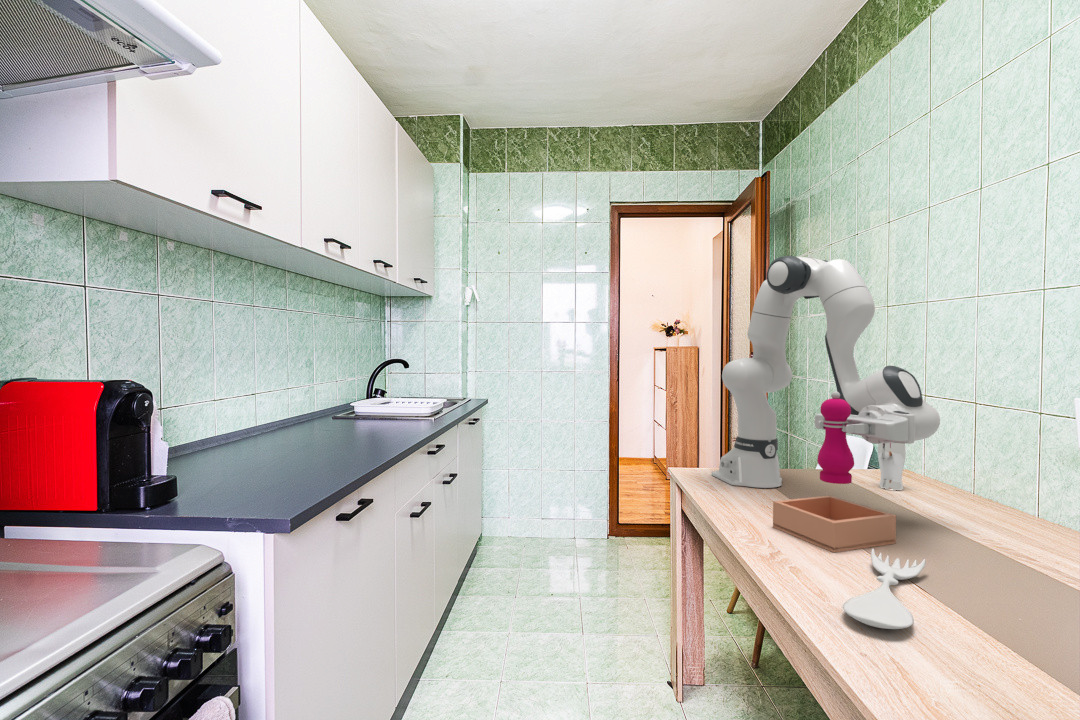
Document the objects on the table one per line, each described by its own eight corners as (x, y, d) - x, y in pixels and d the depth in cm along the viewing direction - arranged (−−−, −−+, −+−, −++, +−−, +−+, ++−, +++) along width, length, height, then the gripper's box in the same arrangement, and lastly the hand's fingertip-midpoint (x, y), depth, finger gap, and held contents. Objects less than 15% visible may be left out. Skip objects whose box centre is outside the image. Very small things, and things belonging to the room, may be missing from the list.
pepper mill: (844, 477, 125) (844, 390, 124) (860, 484, 117) (860, 392, 117) (812, 477, 125) (812, 390, 125) (825, 484, 118) (825, 392, 118)
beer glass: (872, 487, 165) (872, 437, 165) (886, 484, 168) (887, 436, 168) (895, 492, 158) (896, 441, 158) (910, 489, 161) (910, 439, 161)
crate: (772, 527, 126) (773, 501, 126) (829, 520, 132) (829, 495, 132) (833, 552, 110) (834, 523, 110) (895, 543, 116) (896, 515, 115)
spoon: (927, 575, 100) (927, 556, 99) (909, 648, 75) (910, 623, 75) (870, 563, 105) (870, 545, 105) (836, 627, 80) (836, 604, 80)
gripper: (840, 406, 135) (796, 408, 131) (921, 415, 116) (873, 417, 111) (840, 431, 135) (796, 434, 131) (921, 444, 116) (873, 448, 111)
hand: (832, 426), depth 121 cm, fingers closed on pepper mill, 5 cm apart
